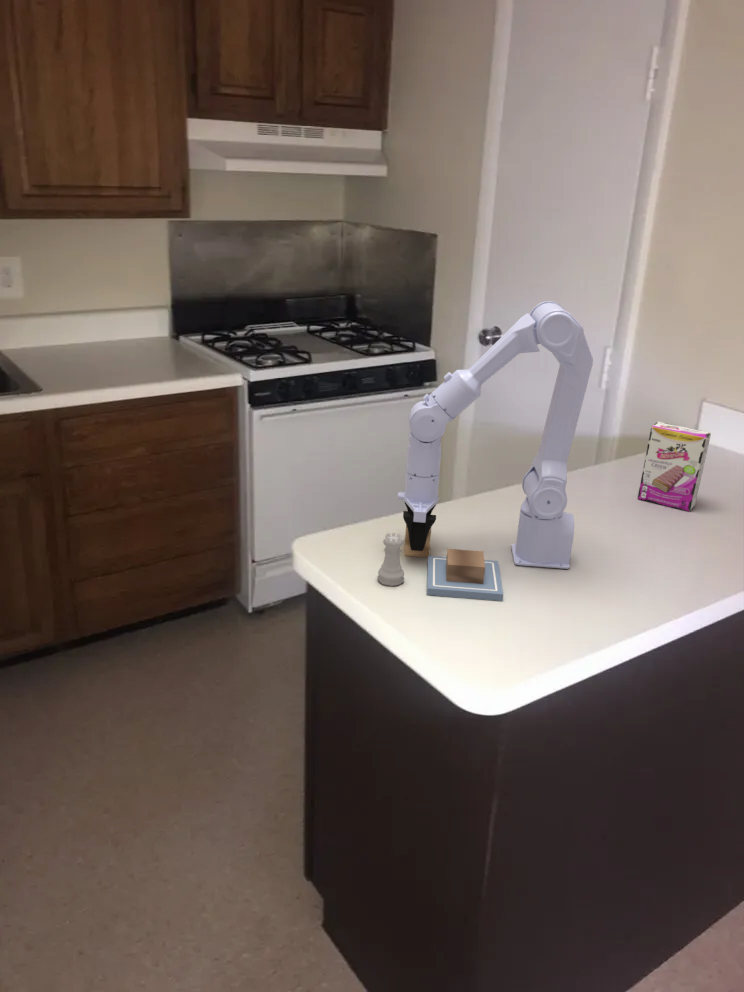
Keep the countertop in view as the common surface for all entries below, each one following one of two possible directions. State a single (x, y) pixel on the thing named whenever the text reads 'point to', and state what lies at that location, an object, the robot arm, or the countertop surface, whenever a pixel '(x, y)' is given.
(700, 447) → the candy bar box
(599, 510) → the countertop surface
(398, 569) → the rook chess piece
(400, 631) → the countertop surface
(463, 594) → the board
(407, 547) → the oak block
